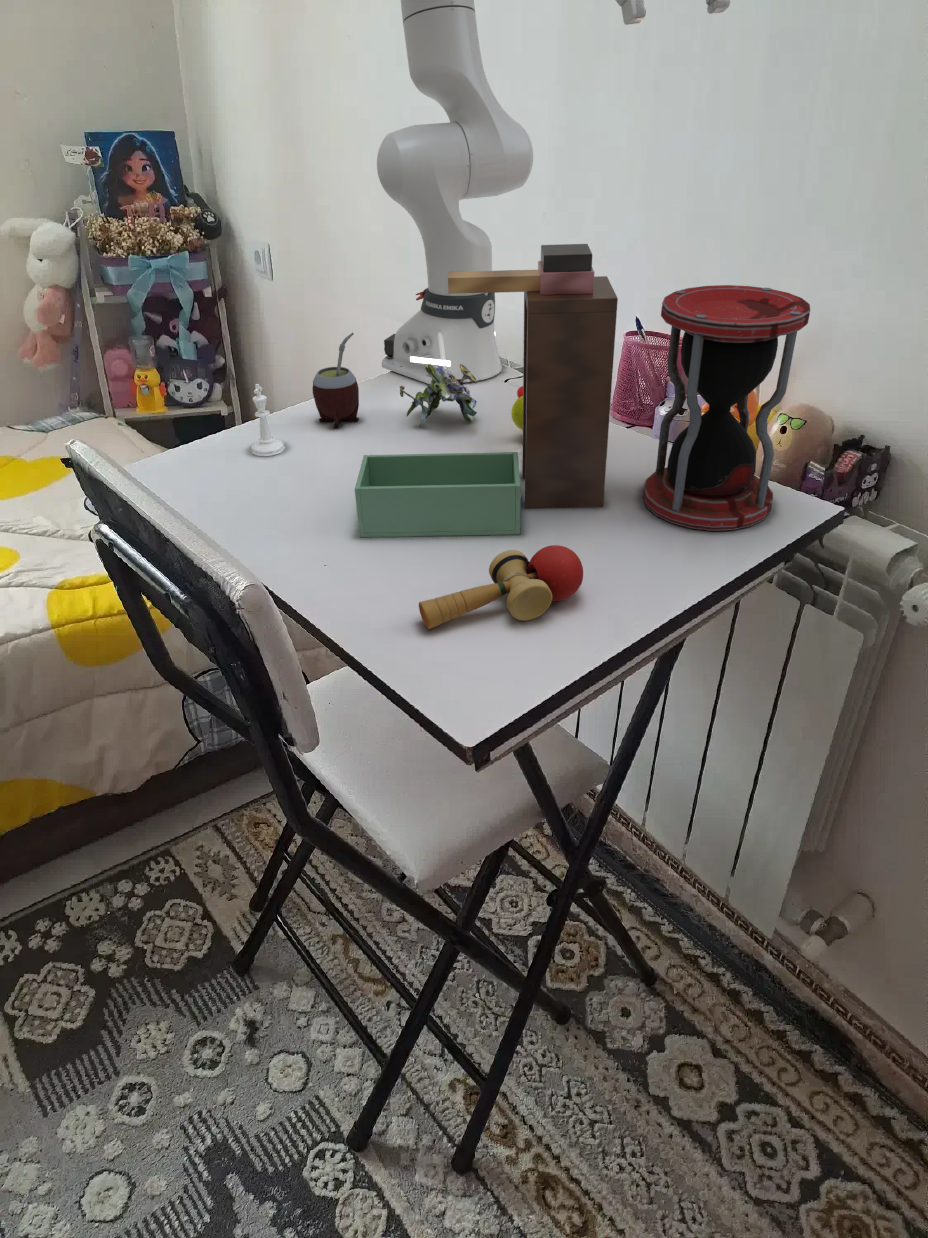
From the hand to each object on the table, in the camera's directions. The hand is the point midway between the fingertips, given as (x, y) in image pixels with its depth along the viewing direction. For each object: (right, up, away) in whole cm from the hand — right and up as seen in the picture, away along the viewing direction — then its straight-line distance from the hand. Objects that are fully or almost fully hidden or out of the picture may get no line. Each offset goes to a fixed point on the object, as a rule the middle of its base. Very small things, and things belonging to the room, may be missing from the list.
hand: (678, 15), depth 84 cm
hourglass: (+10, -44, +27) cm, 53 cm away
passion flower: (-24, -28, +51) cm, 63 cm away
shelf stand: (-8, -42, +31) cm, 53 cm away
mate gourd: (-40, -28, +53) cm, 72 cm away
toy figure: (-11, -32, +45) cm, 57 cm away
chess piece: (-50, -34, +45) cm, 75 cm away
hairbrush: (-14, -20, +16) cm, 30 cm away
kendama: (-17, -58, +8) cm, 61 cm away
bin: (-24, -46, +26) cm, 58 cm away
